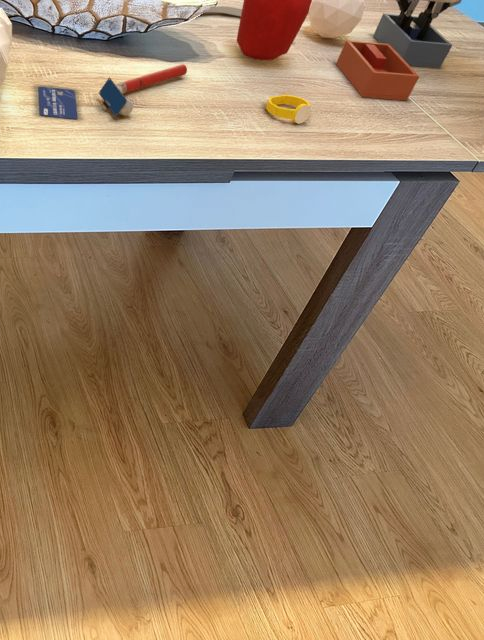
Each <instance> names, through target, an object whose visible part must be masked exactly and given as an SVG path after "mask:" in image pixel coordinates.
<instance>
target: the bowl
mask: <svg viewBox="0 0 484 640" xmlns="http://www.w3.org/2000/svg"><path fill="white" fill-rule="evenodd" d="M12 44H13V23H12V21H11V20H10V18H9V17H8V15H7V13H6V12H5V10H4V9H3V8H2V7H0V86H1V85H3V84H4V82H5V81H6V76H7V69H8V66H9V62H10V50H11V45H12Z"/></svg>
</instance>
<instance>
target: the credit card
mask: <svg viewBox="0 0 484 640" xmlns="http://www.w3.org/2000/svg"><path fill="white" fill-rule="evenodd" d="M37 88H38V103H39V104H38V110H39V111H38V112H39V115H40V116H41V117H49V118H61V119H69V120H77V119H79V118H78V108H77V102H76V101H77V99H76V91H75V90H73V89H67V88H58V87H49V86H38V87H37Z"/></svg>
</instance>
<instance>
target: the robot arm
mask: <svg viewBox="0 0 484 640" xmlns="http://www.w3.org/2000/svg"><path fill="white" fill-rule="evenodd" d="M395 1H396V3H397V5H398V10H399V11H400V13H399V14H398V15H399V17H398V19H397V21H396V24H397V25H398V26H399V27H400V28H401V29H402V30H403V31H404V32H405V33H407V31H408V29H409V27H410V24H411V22H412V20H413V17H412V16H413V13H414V11H415V10H416V8H417V6H418V4H419V2H420V1H421V0H395ZM423 1H426V2H427V3H426V5H425V8H424V11H420V13H419V14H418V16H417V17H418V18H417V20H416V22H415V24H416V25H417V26H418V27H419V28H420V29H421V30H420V32H419V34H418V36H417V38H416V39H418V40H422V38H423V36H424V35H425V34H426V32H427V30H428V28H429V26H430V25H432V22H433V20H435V19H437V18H438V17H439V15H440V14H441V13H442V12H444V11H447V9H449V8H452V7H454V6H457V5H459V4H461V3H462V1H463V0H423Z"/></svg>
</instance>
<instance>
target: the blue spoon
mask: <svg viewBox="0 0 484 640" xmlns="http://www.w3.org/2000/svg"><path fill="white" fill-rule="evenodd" d="M420 30H421V29H420V28H419V27H418V26H417V25H416V24H415V23H414V22H413V21H412V22H411V24H410V27H409V29H408V31H407V33H406V34H407V35H408V36H409V37H410V38H411V39H412V40H415V41H421V40H418V39H416V38H417V36H418V34H419V32H420Z"/></svg>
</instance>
